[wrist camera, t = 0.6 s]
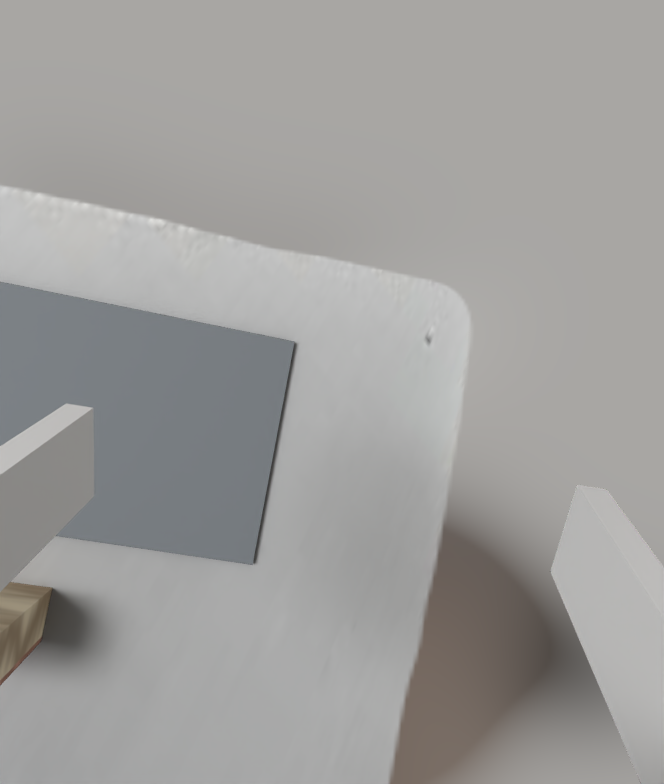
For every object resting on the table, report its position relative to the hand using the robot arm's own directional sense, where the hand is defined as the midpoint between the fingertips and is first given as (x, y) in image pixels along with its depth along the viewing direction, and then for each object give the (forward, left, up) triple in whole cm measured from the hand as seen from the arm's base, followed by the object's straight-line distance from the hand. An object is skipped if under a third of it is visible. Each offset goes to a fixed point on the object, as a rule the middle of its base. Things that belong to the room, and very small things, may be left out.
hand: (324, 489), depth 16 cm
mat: (-1, +12, -31) cm, 33 cm away
